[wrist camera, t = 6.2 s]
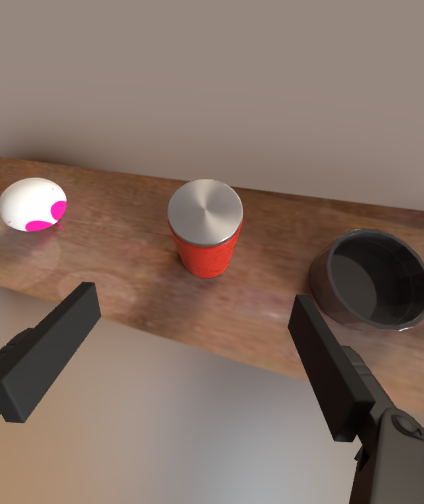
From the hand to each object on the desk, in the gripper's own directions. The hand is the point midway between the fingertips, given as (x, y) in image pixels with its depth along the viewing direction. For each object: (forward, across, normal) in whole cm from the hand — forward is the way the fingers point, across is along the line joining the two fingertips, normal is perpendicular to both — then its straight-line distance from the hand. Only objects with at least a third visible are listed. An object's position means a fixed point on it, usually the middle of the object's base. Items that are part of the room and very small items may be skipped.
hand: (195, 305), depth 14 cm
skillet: (+13, +20, -5) cm, 24 cm away
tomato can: (+15, 0, -3) cm, 15 cm away
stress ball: (+18, -22, 0) cm, 28 cm away
